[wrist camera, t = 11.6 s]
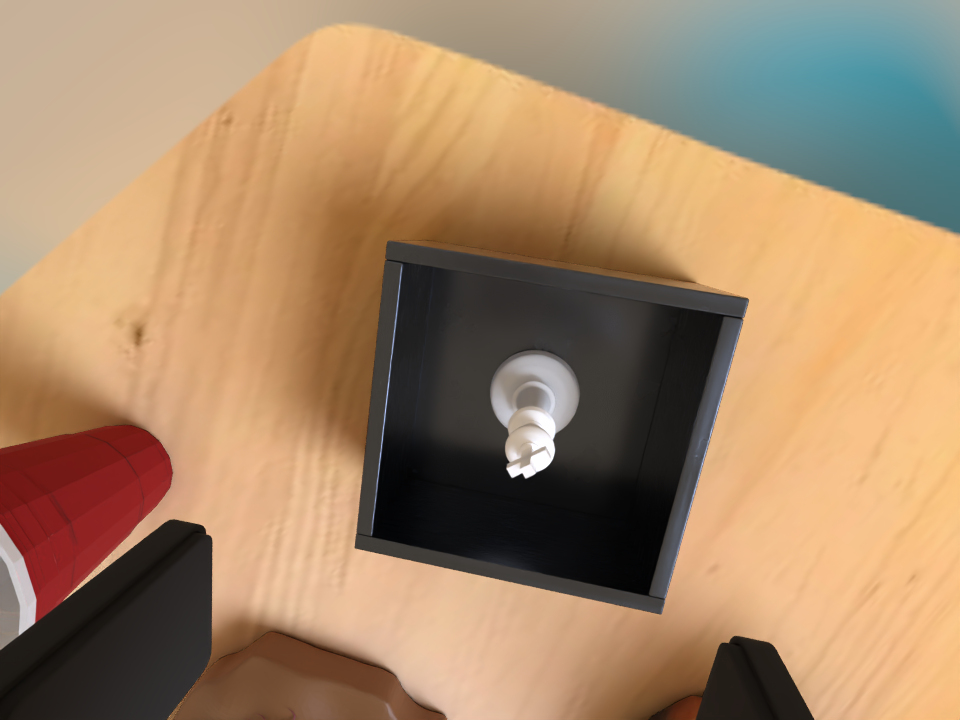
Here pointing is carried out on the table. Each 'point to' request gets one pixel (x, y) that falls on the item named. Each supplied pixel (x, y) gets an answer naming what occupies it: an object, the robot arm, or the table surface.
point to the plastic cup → (70, 513)
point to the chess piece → (533, 407)
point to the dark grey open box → (578, 446)
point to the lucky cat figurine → (680, 710)
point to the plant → (297, 687)
